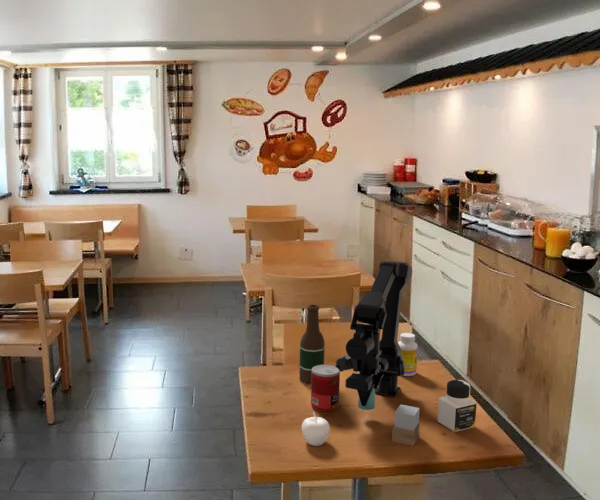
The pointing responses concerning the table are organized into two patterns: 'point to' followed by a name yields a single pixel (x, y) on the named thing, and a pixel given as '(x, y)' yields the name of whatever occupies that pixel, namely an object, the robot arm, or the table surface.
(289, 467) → the table surface
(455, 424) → the medicine bottle
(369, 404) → the teal cylinder
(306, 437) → the plain white apple
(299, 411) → the table surface
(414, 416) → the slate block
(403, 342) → the supplement bottle
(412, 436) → the walnut block
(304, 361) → the beer bottle
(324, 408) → the canned food
